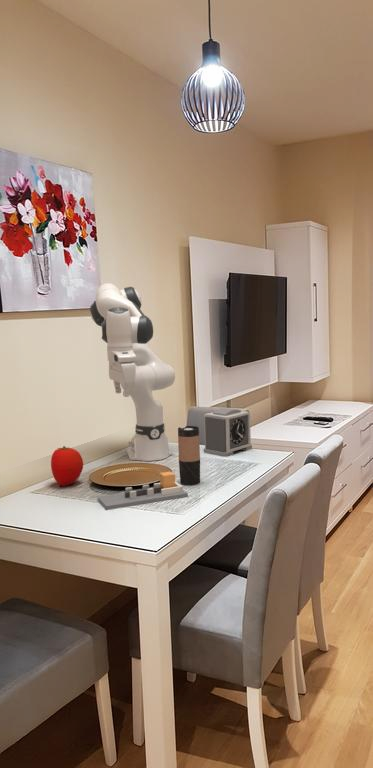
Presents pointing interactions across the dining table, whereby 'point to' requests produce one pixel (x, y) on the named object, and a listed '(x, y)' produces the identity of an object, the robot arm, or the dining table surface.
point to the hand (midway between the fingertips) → (122, 394)
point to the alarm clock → (227, 431)
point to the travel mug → (189, 455)
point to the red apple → (66, 465)
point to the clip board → (121, 501)
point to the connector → (165, 482)
